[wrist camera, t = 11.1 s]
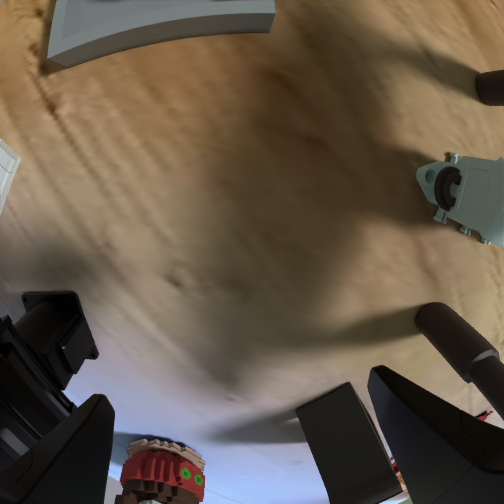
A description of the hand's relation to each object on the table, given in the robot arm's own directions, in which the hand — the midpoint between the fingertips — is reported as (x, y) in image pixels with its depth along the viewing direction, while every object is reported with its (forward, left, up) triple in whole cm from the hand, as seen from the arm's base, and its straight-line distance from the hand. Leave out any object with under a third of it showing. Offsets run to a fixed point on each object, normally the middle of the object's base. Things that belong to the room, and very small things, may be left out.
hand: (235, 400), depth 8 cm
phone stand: (+9, -19, -12) cm, 24 cm away
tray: (-4, +22, -12) cm, 26 cm away
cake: (-11, -25, -12) cm, 29 cm away
